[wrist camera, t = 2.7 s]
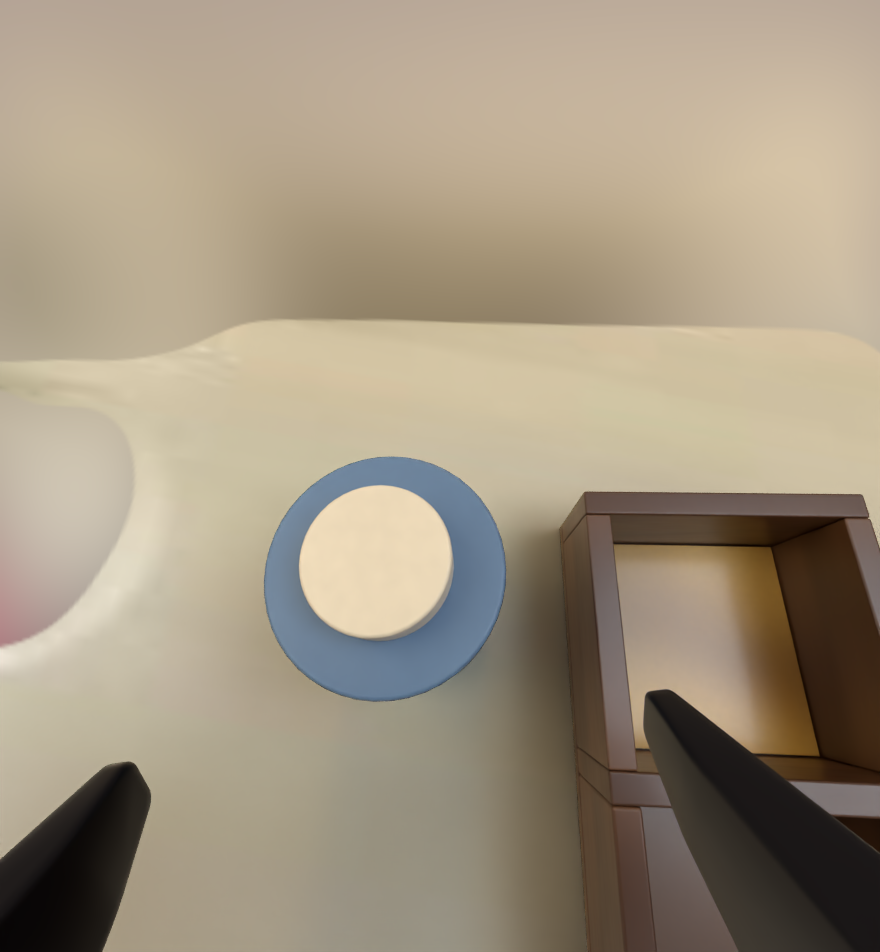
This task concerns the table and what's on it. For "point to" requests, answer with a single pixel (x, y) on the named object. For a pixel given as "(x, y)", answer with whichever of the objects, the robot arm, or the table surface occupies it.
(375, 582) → the bottle
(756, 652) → the organizer
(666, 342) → the table surface
